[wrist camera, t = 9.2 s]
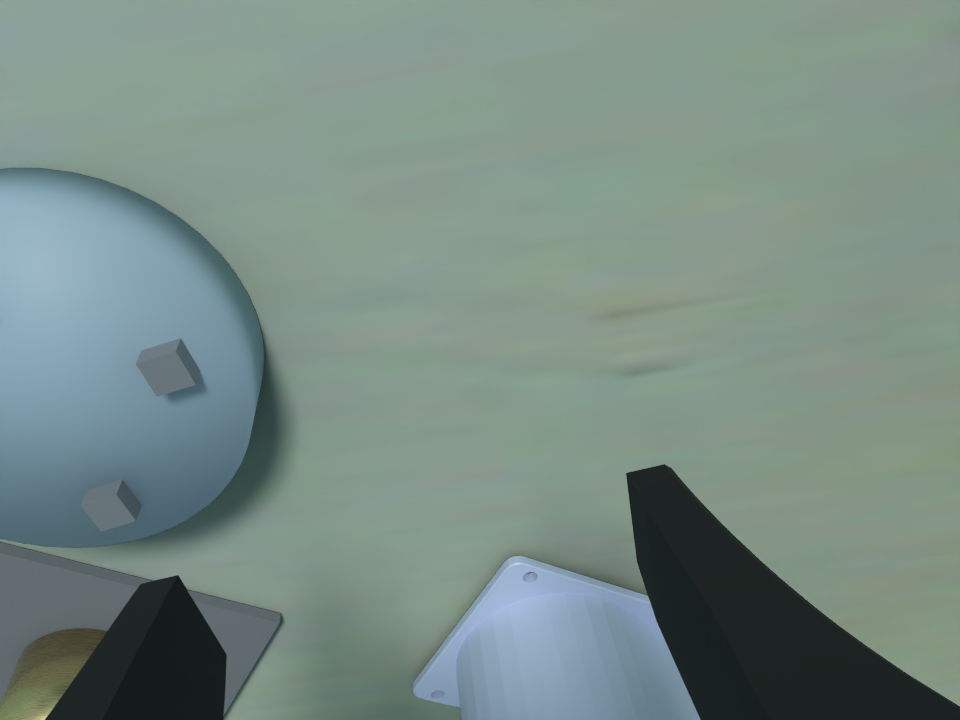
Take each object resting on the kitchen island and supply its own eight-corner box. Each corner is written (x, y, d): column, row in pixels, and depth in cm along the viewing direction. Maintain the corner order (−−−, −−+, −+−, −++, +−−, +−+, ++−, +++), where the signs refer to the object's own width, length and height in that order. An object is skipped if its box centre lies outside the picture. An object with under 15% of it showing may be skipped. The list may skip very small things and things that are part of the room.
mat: (280, 613, 28) (279, 622, 28) (188, 767, 32) (186, 777, 32) (-28, 534, 24) (-34, 544, 24) (-86, 719, 29) (-91, 729, 28)
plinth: (320, 270, 21) (313, 329, 18) (196, 524, 25) (176, 601, 23) (-103, 92, 17) (-186, 133, 15) (-164, 421, 22) (-236, 498, 19)
